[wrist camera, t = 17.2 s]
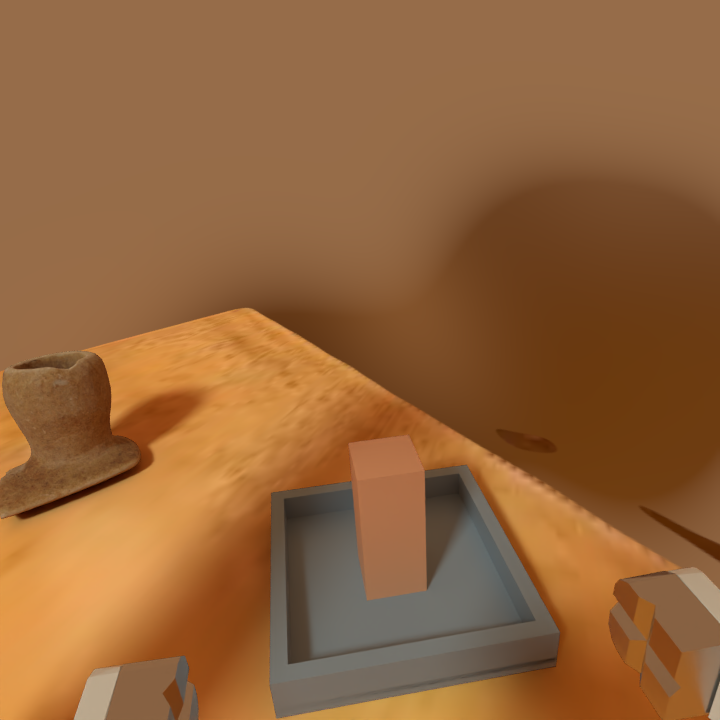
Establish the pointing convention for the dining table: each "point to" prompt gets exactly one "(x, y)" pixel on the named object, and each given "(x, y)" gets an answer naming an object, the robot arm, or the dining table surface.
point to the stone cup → (61, 429)
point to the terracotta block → (389, 515)
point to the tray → (397, 602)
